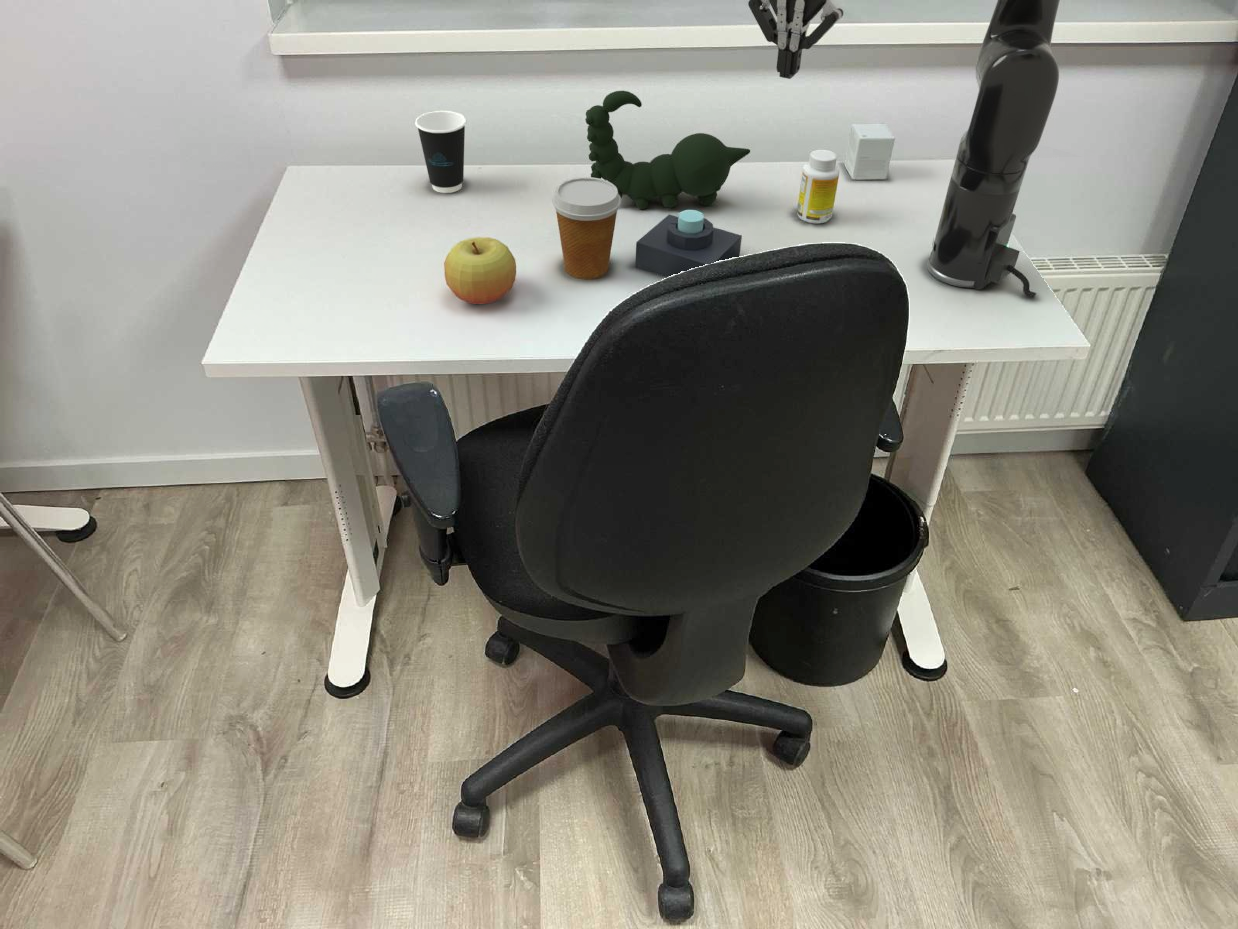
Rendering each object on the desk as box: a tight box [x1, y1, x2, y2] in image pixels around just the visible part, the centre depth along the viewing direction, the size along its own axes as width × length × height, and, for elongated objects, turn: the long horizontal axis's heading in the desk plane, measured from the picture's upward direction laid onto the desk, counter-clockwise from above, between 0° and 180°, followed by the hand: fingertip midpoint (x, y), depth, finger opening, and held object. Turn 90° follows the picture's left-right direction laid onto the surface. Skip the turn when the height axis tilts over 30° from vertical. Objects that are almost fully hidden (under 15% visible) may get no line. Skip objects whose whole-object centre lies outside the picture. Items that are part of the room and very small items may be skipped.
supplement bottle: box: [796, 149, 840, 224], centre depth 154 cm, size 6×6×10 cm
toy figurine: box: [585, 90, 751, 210], centre depth 154 cm, size 9×19×25 cm
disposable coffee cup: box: [551, 176, 622, 280], centre depth 140 cm, size 10×10×12 cm
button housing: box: [634, 213, 743, 278], centre depth 143 cm, size 12×10×6 cm
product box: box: [844, 123, 896, 181], centre depth 167 cm, size 6×6×7 cm
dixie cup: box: [414, 110, 467, 194], centre depth 158 cm, size 8×8×11 cm
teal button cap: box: [677, 209, 705, 233], centre depth 141 cm, size 4×4×2 cm
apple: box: [443, 236, 517, 305], centre depth 135 cm, size 10×10×8 cm
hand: (787, 76), depth 135 cm, fingers closed
